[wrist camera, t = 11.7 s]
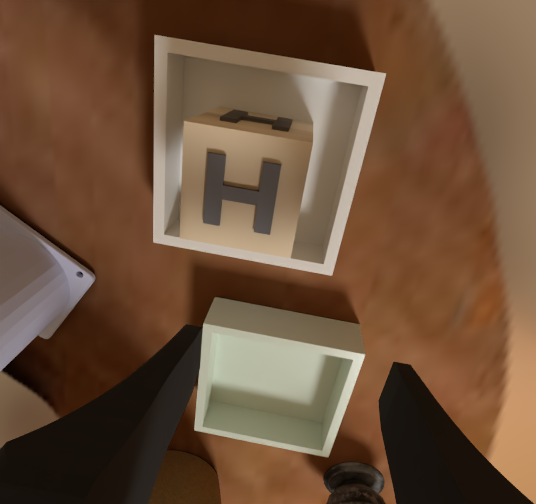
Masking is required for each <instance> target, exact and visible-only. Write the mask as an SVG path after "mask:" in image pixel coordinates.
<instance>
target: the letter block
mask: <svg viewBox="0 0 536 504" xmlns="http://www.w3.org/2000/svg"><path fill="white" fill-rule="evenodd" d="M312 146H313V122H309V121H303V120H297V119H291V118H285V117H279V116H273V115H267V114H261V113H255V112H249V111H243V110H237V109H231V108H225V107H218V108H215V109H213V110H210V111H208V112H205V113H202V114H200V115H197V116H195V117H192V118H190V119H187V120H185V121H184V128H183V156H182V184H181V212H180V238H181V239H186V240H192V241H197V242H203V243H209V244H214V245H220V246H225V247H231V248H236V249H242V250H247V251H253V252H258V253H264V254H269V255H275V256H281V257H286V258H291V254H292V249H293V243H294V238H295V233H296V228H297V223H298V218H299V213H300V208H301V203H302V197H303V192H304V187H305V182H306V177H307V172H308V167H309V162H310V157H311V151H312Z"/></svg>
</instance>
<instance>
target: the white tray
mask: <svg viewBox="0 0 536 504" xmlns="http://www.w3.org/2000/svg"><path fill="white" fill-rule="evenodd" d="M385 76H386V74H385V73H379V72H373V71H367V70H361V69H356V68H350V67H344V66H338V65H332V64H326V63H320V62H314V61H308V60H302V59H296V58H290V57H284V56H278V55H272V54H266V53H260V52H254V51H248V50H242V49H236V48H230V47H225V46H219V45H213V44H207V43H201V42H195V41H189V40H183V39H177V38H171V37H165V36H159V35H154V202H153V242H154V243H159V244H165V245H170V246H175V247H181V248H186V249H192V250H197V251H202V252H208V253H213V254H218V255H224V256H229V257H234V258H240V259H245V260H251V261H256V262H261V263H267V264H272V265H277V266H283V267H288V268H293V269H299V270H304V271H309V272H315V273H320V274H326V275H331V276H332V274H333V270H334V266H335V263H336V259H337V255H338V251H339V248H340V244H341V240H342V237H343V233H344V229H345V225H346V222H347V218H348V214H349V211H350V207H351V203H352V199H353V196H354V192H355V188H356V184H357V181H358V177H359V173H360V170H361V166H362V162H363V158H364V155H365V151H366V147H367V143H368V140H369V136H370V132H371V129H372V125H373V121H374V117H375V114H376V110H377V106H378V103H379V99H380V95H381V91H382V88H383V84H384V80H385ZM218 107H225V108H231V109H237V110H243V111H249V112H255V113H261V114H267V115H273V116H279V117H285V118H291V119H297V120H303V121H309V122H313V146H312V151H311V157H310V162H309V167H308V172H307V177H306V182H305V187H304V192H303V197H302V203H301V208H300V213H299V218H298V223H297V228H296V233H295V238H294V243H293V249H292V254H291V258H286V257H281V256H275V255H269V254H264V253H258V252H253V251H247V250H242V249H236V248H231V247H225V246H220V245H214V244H209V243H203V242H197V241H192V240H186V239H181V238H180V212H181V184H182V156H183V128H184V121H185V120H187V119H190V118H192V117H195V116H197V115H200V114H202V113H205V112H208V111H210V110H213V109H215V108H218Z"/></svg>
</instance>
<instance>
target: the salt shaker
mask: <svg viewBox="0 0 536 504" xmlns="http://www.w3.org/2000/svg"><path fill="white" fill-rule="evenodd" d="M324 484H325V486H326V488H327V489H328V490H329V491H330V492H331V493H332V494H331V495H330V496H329V499H328V501H327V504H385V502H384V500H383V498H382V497H381V496H380V495H379V493H380V492H381V491H382V489H383V487H384V479H383V476H382V474H381V473H380V472H379V471H378V470H377V469H375V468H374V467H372V466H369V465H367V464H363V463H358V462H346V463H340V464H337V465H335V466H333V467H331V468H330V469H329V470H328V471H327V472H326V473H325V476H324Z"/></svg>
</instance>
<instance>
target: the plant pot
mask: <svg viewBox="0 0 536 504" xmlns="http://www.w3.org/2000/svg"><path fill="white" fill-rule="evenodd" d="M148 504H221V496H220V487H219V480H218V476H217V474H216V472H215V471H214V469H213V468H212V467H211V466H210V465H209V464H208V463H207V462H205V461H204V460H203V459H201V458H199V457H197V456H195V455H193V454H190V453H187V452H182V451H175V450H167V451H166V453H165V456H164V458H163V461H162V464H161V467H160V470H159V473H158V476H157V479H156V482H155V484H154V487H153V490H152V493H151V496H150V500H149V503H148Z"/></svg>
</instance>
